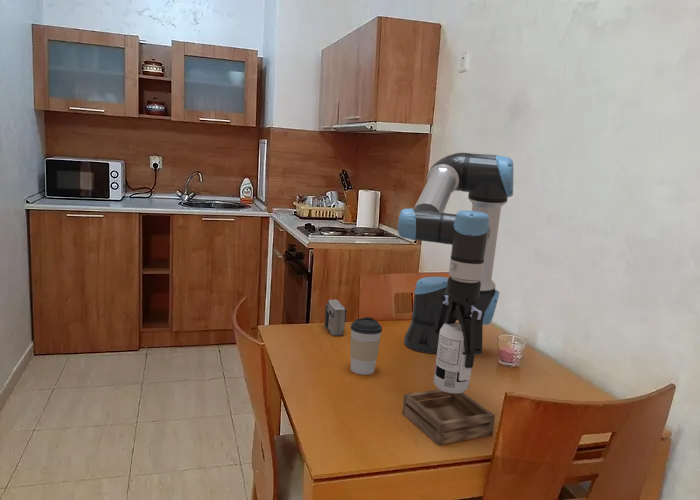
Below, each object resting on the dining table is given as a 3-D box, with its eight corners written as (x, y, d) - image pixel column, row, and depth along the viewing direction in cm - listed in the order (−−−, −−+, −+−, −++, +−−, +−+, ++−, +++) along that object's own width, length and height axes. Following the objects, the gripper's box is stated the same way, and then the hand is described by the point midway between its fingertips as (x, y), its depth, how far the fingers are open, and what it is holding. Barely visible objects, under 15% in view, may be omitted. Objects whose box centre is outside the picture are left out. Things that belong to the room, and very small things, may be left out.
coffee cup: (375, 378, 157) (380, 327, 155) (343, 373, 159) (348, 322, 156) (380, 366, 166) (384, 318, 163) (350, 361, 168) (354, 314, 165)
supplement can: (429, 379, 136) (436, 320, 134) (462, 380, 137) (470, 322, 134) (437, 393, 128) (445, 331, 126) (472, 395, 129) (481, 333, 127)
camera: (323, 325, 199) (325, 298, 197) (338, 325, 200) (341, 298, 199) (329, 336, 188) (331, 308, 186) (346, 336, 190) (348, 308, 188)
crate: (453, 405, 145) (455, 387, 144) (492, 434, 131) (495, 414, 130) (402, 413, 138) (404, 394, 137) (438, 445, 124) (440, 424, 124)
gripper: (425, 268, 136) (415, 357, 140) (481, 291, 117) (467, 392, 121) (450, 268, 139) (440, 354, 143) (508, 290, 121) (494, 388, 125)
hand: (452, 372), depth 132 cm, fingers closed on supplement can, 8 cm apart
